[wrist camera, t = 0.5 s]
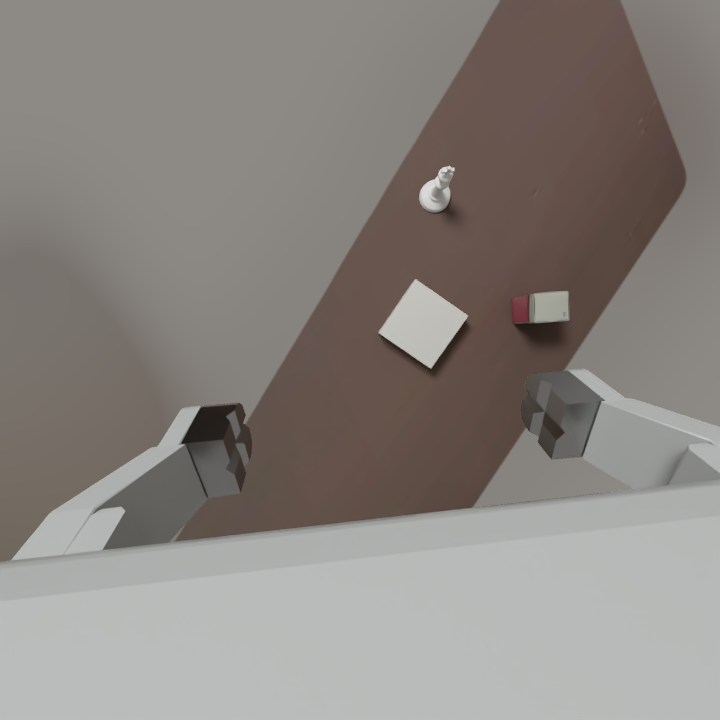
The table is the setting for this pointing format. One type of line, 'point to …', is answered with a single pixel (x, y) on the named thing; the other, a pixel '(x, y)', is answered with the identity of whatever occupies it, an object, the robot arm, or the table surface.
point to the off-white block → (422, 323)
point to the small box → (541, 307)
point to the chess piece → (437, 191)
